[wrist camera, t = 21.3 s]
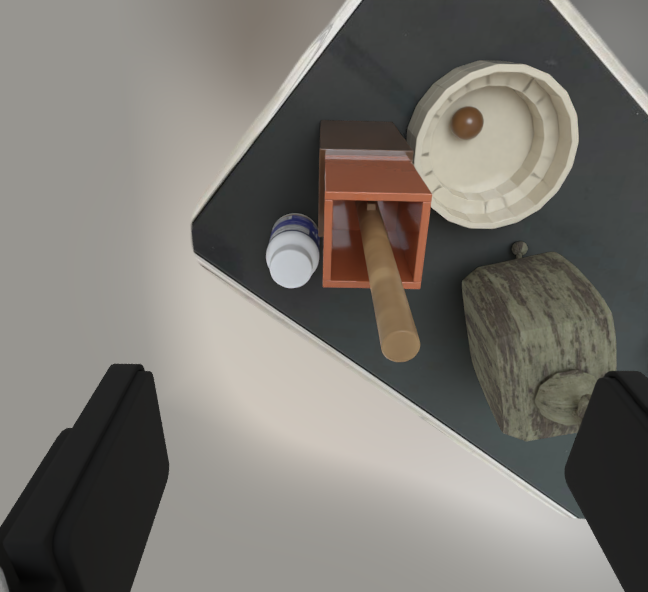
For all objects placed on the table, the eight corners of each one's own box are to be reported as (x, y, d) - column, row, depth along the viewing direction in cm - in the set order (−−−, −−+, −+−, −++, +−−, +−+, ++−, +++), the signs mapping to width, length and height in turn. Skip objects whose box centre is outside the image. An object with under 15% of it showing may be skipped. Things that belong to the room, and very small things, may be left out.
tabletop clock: (538, 335, 60) (661, 514, 38) (463, 350, 61) (541, 532, 39) (532, 225, 53) (679, 364, 31) (448, 244, 54) (532, 391, 32)
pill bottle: (318, 258, 55) (317, 296, 47) (271, 256, 55) (262, 293, 47) (321, 213, 52) (320, 245, 45) (271, 210, 52) (262, 241, 45)
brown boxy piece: (320, 120, 48) (317, 184, 28) (392, 121, 48) (440, 187, 28) (319, 190, 51) (316, 293, 31) (386, 192, 51) (425, 295, 32)
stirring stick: (354, 214, 38) (379, 370, 21) (355, 183, 37) (382, 321, 20) (375, 213, 38) (418, 370, 21) (376, 183, 37) (423, 321, 20)
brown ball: (496, 123, 45) (478, 133, 48) (478, 94, 45) (461, 107, 48) (472, 140, 45) (455, 150, 48) (454, 112, 44) (438, 123, 47)
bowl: (413, 58, 45) (424, 62, 40) (566, 61, 46) (598, 66, 40) (398, 207, 52) (407, 227, 47) (532, 210, 52) (555, 230, 47)
